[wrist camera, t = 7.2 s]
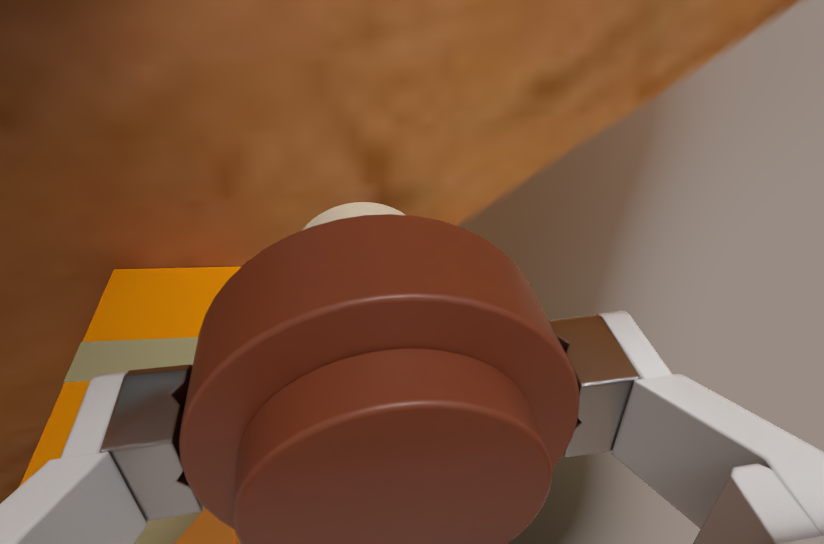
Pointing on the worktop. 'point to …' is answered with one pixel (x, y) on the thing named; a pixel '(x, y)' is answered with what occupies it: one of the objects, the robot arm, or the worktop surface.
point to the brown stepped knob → (377, 389)
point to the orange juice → (141, 365)
